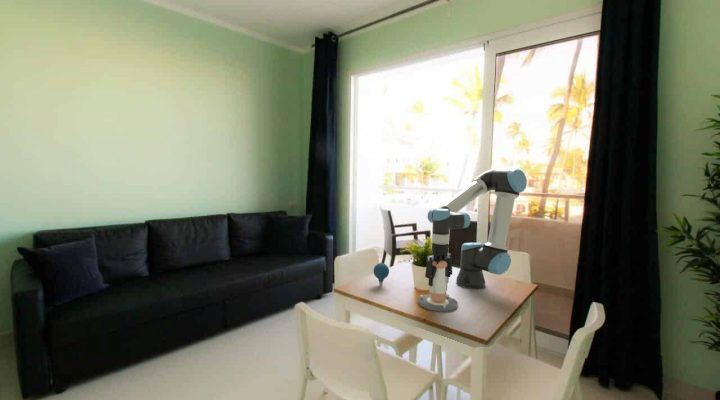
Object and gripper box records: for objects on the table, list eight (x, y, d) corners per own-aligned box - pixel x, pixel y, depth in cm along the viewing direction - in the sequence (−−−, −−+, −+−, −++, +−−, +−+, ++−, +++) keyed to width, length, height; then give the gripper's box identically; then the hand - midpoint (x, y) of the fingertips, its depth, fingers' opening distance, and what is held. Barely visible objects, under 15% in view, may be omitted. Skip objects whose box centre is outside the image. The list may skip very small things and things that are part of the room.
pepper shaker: (446, 296, 156) (448, 257, 154) (445, 302, 149) (447, 261, 147) (430, 294, 158) (432, 255, 156) (429, 300, 151) (430, 259, 149)
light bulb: (381, 281, 183) (382, 260, 182) (391, 286, 176) (392, 264, 175) (369, 284, 178) (370, 262, 177) (380, 289, 171) (380, 266, 170)
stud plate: (447, 295, 164) (447, 290, 164) (464, 310, 146) (465, 305, 146) (412, 297, 161) (413, 291, 161) (426, 312, 143) (426, 306, 143)
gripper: (450, 239, 159) (448, 285, 161) (417, 242, 150) (416, 292, 152) (462, 242, 153) (459, 290, 155) (428, 246, 143) (426, 297, 145)
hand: (438, 291), depth 153 cm, fingers closed on pepper shaker, 7 cm apart
